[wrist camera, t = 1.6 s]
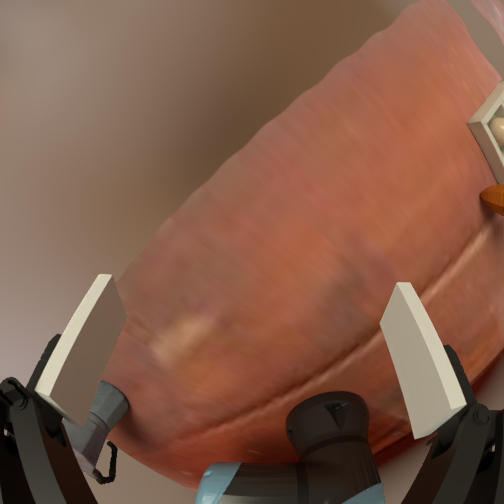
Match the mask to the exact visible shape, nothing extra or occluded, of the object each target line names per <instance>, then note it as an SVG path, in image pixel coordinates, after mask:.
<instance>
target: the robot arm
mask: <svg viewBox="0 0 504 504" xmlns="http://www.w3.org/2000/svg"><path fill="white" fill-rule="evenodd" d="M126 318H127V313H126V311H125V308H124V306H123V303H122V300H121V298H120V295H119V292H118V289H117V287H116V284H115V281H114V278H113V275H106V274H99V276H98V277H97V278H96V280H95V281H94V283H93V284H92V286H91V288H90V289H89V291H88V292H87V294H86V296H85V297H84V299H83V300H82V302H81V303H80V305H79V307H78V309H77V310H76V312H75V314H74V315H73V317H72V319H71V320H70V322H69V324H68V326H67V327H66V329H65V331H64V333H63V334H62V335H60V334H57V335H56V336H55V337H53V338H52V339H51V341H49V343H48V345H47V347H46V349H45V351H44V353H43V354H42V356H41V360H40V361H39V362H38V364H37V366H36V368H35V370H34V372H33V374H32V376H31V378H30V380H29V382H28V384H27V386H26V388H24V386H23V385H21V383H20V382H19V381H18V380H17V379H16V378H13V377H9V378H6V379H5V380H3V381H2V383H1V384H0V504H98V503H97V501H96V499H95V497H94V495H93V493H92V491H91V489H90V487H89V485H88V483H87V481H86V479H85V477H84V475H83V472H82V470H81V468H80V466H79V463H78V461H77V459H76V456H75V454H74V451H73V449H72V446H71V443H70V441H69V438H68V435H67V432H66V429H65V426H64V424H63V423H62V419H63V417H64V418H65V419H66V420H67V421H68V422H69V423H71V424H74V425H77V426H79V427H82V428H84V427H85V424H86V421H87V418H88V415H89V412H90V409H91V406H92V403H93V400H94V397H95V395H96V392H97V389H98V386H99V384H100V381H101V379H102V376H103V373H104V371H105V368H106V366H107V363H108V361H109V358H110V356H111V353H112V351H113V348H114V346H115V344H116V341H117V339H118V337H119V334H120V332H121V330H122V327H123V325H124V323H125V321H126ZM380 326H381V329H382V332H383V334H384V337H385V340H386V343H387V346H388V349H389V352H390V354H391V357H392V361H393V364H394V367H395V370H396V373H397V376H398V379H399V383H400V386H401V389H402V393H403V396H404V400H405V403H406V407H407V411H408V414H409V418H410V422H411V426H412V430H413V434H414V438H415V439H417V438H420V437H424V436H427V435H430V434H431V433H432V432H434V431H435V430H436V429H437V431H438V434H437V435H436V436H435V437H433V438H432V439H430V440H429V441H428V442H427V444H426V445H427V446H428V445H429V444H431V443H432V442H433V444H432V445H431V448H430V451H429V453H428V454H427V457H426V459H425V461H424V463H423V465H422V467H421V469H420V471H419V473H418V475H417V477H416V479H415V480H414V482H413V484H412V486H411V488H410V489H409V491H408V493H407V495H406V496H405V498H404V500H403V501H402V503H401V504H504V409H503V410H488V408H487V407H486V406H485V405H483V404H480V403H477V401H476V399H475V396H474V394H473V391H472V389H471V386H470V384H469V381H468V379H467V376H466V374H465V373H464V369H463V367H462V365H460V360H459V358H458V356H457V354H456V352H455V351H454V350H453V349H452V348H451V347H450V346H449V345H444V346H443V345H442V343H441V341H440V339H439V337H438V335H437V333H436V331H435V329H434V326H433V324H432V323H431V321H430V319H429V317H428V315H427V313H426V311H425V309H424V307H423V305H422V303H421V301H420V300H419V298H418V296H417V294H416V292H415V291H414V289H413V287H412V285H411V283H410V282H401V283H396V285H395V288H394V290H393V293H392V295H391V298H390V300H389V303H388V305H387V307H386V310H385V312H384V314H383V317H382V319H381V321H380ZM368 423H369V413H368V409H367V406H366V404H365V402H364V400H363V399H362V398H361V397H360V396H358V395H356V394H354V393H350V392H342V391H338V392H328V393H323V394H319V395H316V396H314V397H311V398H309V399H307V400H305V401H303V402H301V403H300V404H298V405H297V406H296V407H295V408H294V409H293V410H292V411H291V412H290V413H289V415H288V416H287V419H286V433H287V437H288V439H289V440H290V442H291V444H292V446H293V448H294V449H295V451H296V453H297V455H298V456H299V461H300V462H299V463H242V462H238V463H231V462H216V463H213V464H211V465H210V466H209V467H208V468H207V469H206V471H205V473H204V475H203V477H202V479H201V482H200V485H199V488H198V492H197V495H196V499H195V504H385V496H384V491H383V483H381V479H380V477H379V473H378V470H377V467H376V464H375V461H374V458H373V455H372V452H371V449H370V446H369V443H368V439H367V438H368ZM4 429H5V430H7V435H4ZM494 445H495V451H494V452H493V451H492V446H494Z"/></svg>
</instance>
